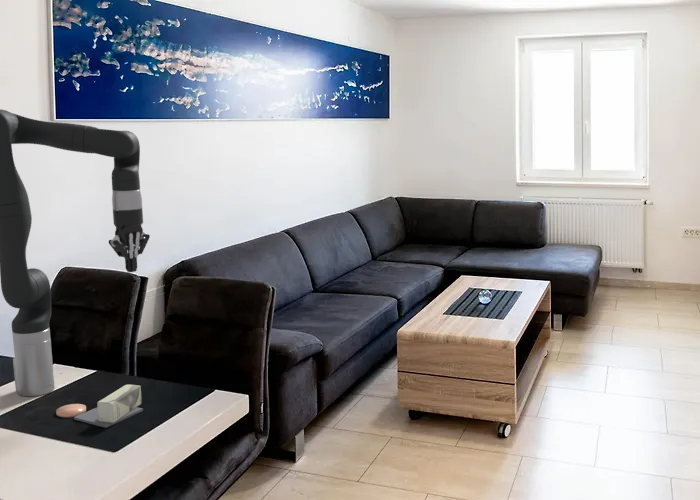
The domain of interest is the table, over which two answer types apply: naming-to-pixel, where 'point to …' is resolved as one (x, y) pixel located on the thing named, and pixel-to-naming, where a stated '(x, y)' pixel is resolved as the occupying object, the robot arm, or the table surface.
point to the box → (119, 403)
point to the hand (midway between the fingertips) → (131, 271)
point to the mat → (92, 418)
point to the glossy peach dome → (71, 410)
